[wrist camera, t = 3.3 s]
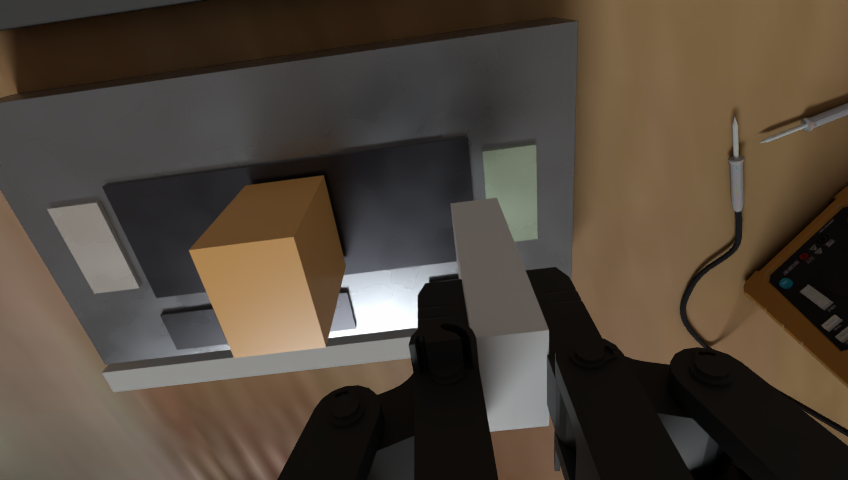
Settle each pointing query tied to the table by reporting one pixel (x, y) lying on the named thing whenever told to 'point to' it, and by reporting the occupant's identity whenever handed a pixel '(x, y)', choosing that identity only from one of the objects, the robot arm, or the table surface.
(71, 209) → the grey control panel
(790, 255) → the multimeter
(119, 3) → the dark grey bar
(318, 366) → the light grey rod
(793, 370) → the table surface
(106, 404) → the table surface
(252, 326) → the orange rectangular block
